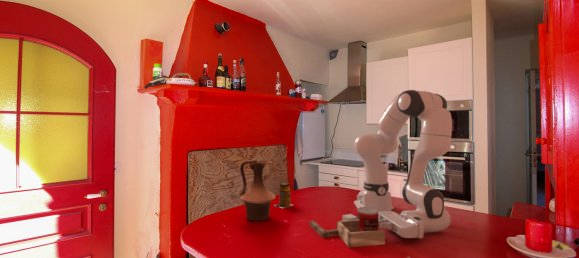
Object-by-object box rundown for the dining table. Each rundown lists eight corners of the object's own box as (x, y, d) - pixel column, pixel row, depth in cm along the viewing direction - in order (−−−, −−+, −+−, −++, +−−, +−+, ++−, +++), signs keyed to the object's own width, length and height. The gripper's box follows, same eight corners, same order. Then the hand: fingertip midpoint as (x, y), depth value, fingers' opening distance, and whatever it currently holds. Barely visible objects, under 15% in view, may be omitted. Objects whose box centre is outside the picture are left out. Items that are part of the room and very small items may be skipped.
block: (342, 225, 122) (342, 215, 122) (350, 223, 124) (350, 213, 123) (348, 229, 118) (348, 218, 118) (357, 227, 119) (357, 216, 119)
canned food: (364, 232, 114) (364, 205, 113) (382, 238, 108) (382, 210, 107) (353, 237, 109) (353, 209, 108) (371, 244, 103) (371, 214, 102)
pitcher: (236, 224, 124) (235, 162, 124) (241, 212, 141) (240, 157, 141) (275, 223, 125) (274, 161, 124) (276, 211, 142) (275, 157, 141)
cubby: (337, 233, 113) (336, 221, 113) (369, 230, 115) (369, 218, 115) (348, 247, 100) (348, 233, 100) (385, 244, 102) (384, 230, 102)
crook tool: (309, 225, 122) (309, 221, 122) (324, 223, 124) (324, 219, 124) (322, 238, 109) (322, 233, 109) (338, 235, 111) (338, 230, 111)
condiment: (293, 205, 153) (293, 183, 152) (282, 208, 147) (282, 186, 146) (284, 202, 158) (284, 181, 158) (273, 205, 152) (273, 184, 152)
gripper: (395, 206, 121) (365, 208, 119) (425, 222, 101) (390, 225, 99) (395, 220, 121) (365, 223, 119) (425, 240, 101) (390, 243, 99)
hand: (377, 224), depth 109 cm, fingers closed, pressing on canned food
